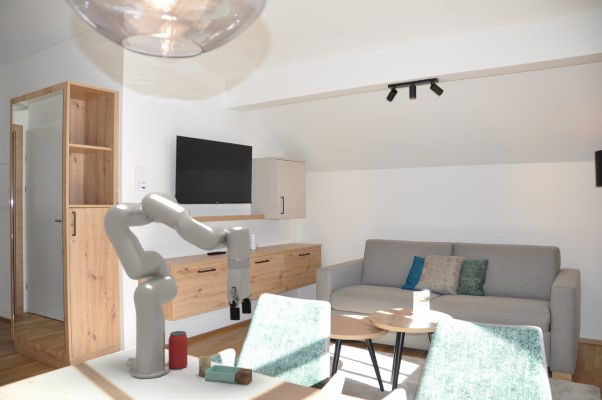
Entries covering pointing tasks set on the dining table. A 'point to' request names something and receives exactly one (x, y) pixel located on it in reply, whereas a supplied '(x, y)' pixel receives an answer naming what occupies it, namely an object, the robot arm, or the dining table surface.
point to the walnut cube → (244, 376)
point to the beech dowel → (204, 364)
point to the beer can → (178, 350)
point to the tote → (221, 374)
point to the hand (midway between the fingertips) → (241, 316)
